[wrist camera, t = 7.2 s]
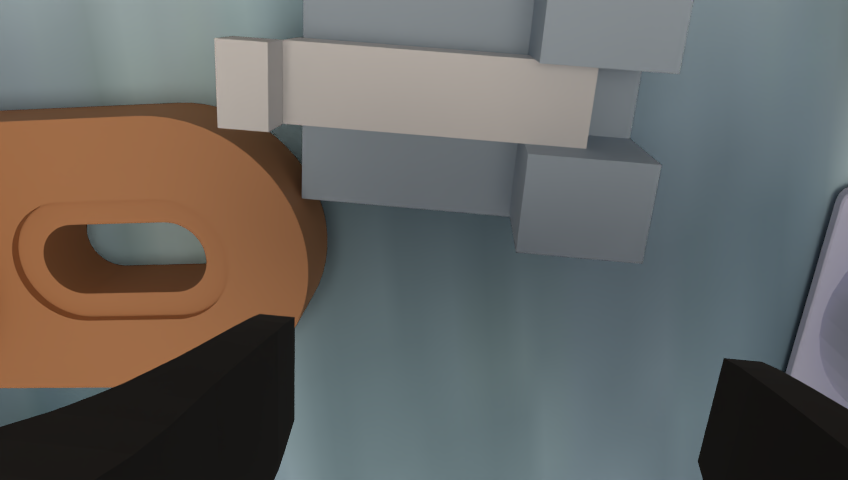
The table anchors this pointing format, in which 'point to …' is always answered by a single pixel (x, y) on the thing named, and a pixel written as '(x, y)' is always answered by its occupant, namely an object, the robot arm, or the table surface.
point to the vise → (470, 110)
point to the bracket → (142, 203)
